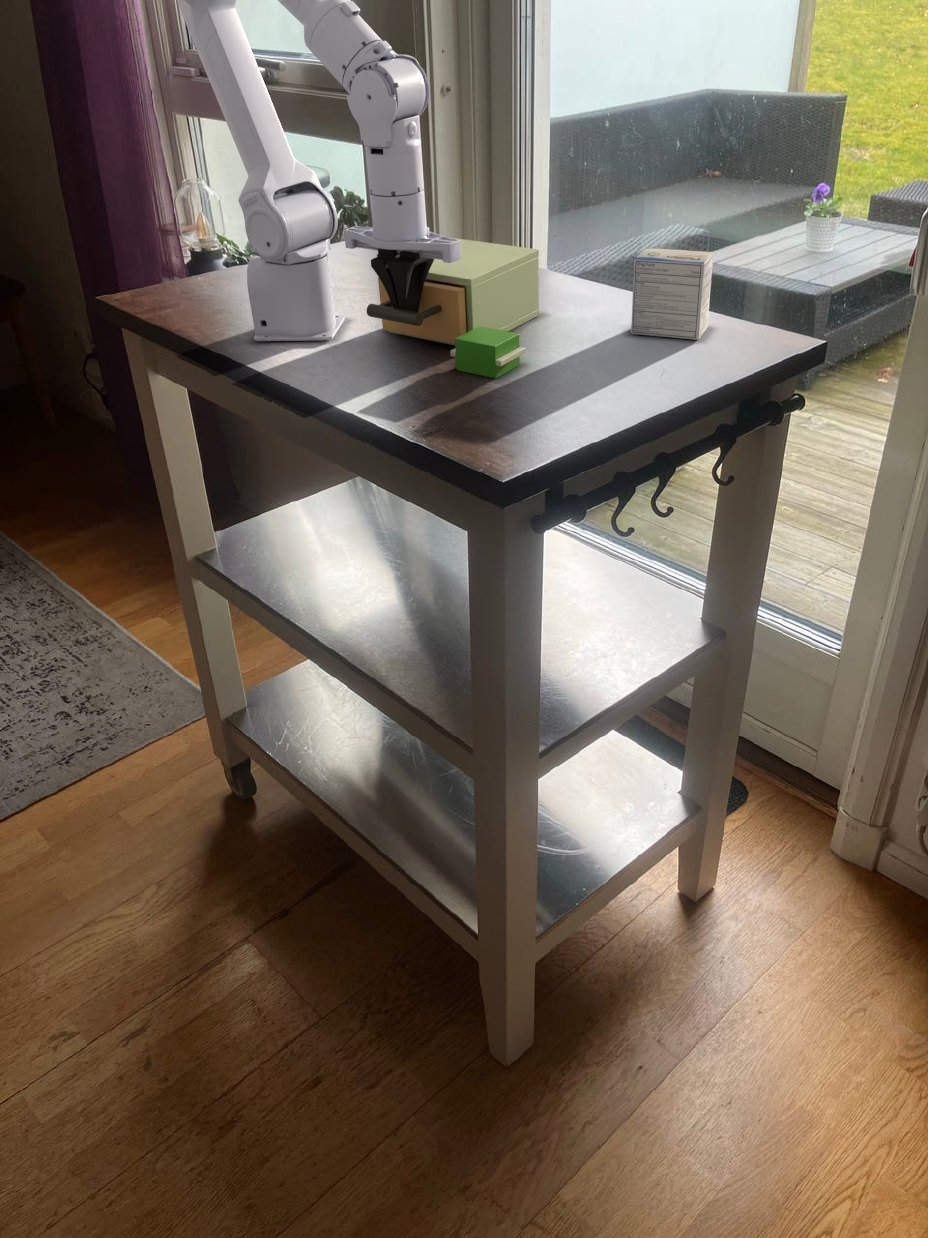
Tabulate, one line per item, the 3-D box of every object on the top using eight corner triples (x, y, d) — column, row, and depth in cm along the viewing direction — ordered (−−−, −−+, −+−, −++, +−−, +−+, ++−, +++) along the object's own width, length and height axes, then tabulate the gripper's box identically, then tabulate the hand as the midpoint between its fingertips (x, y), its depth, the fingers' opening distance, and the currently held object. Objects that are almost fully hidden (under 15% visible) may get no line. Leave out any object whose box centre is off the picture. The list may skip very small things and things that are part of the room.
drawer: (434, 358, 109) (430, 303, 106) (355, 341, 115) (349, 288, 112) (522, 313, 121) (521, 262, 117) (446, 300, 126) (443, 250, 123)
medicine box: (708, 329, 115) (715, 251, 111) (698, 341, 112) (705, 262, 107) (641, 322, 118) (645, 246, 113) (629, 335, 115) (633, 257, 110)
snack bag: (525, 366, 109) (525, 334, 107) (501, 380, 106) (500, 347, 104) (475, 355, 112) (474, 324, 110) (451, 369, 109) (449, 337, 107)
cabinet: (474, 349, 114) (470, 279, 109) (388, 332, 120) (382, 265, 116) (539, 315, 123) (538, 249, 118) (456, 300, 129) (452, 237, 125)
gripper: (475, 188, 104) (481, 319, 111) (368, 177, 111) (380, 301, 119) (434, 202, 99) (442, 338, 107) (325, 190, 107) (340, 318, 114)
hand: (407, 320), depth 112 cm, fingers closed
